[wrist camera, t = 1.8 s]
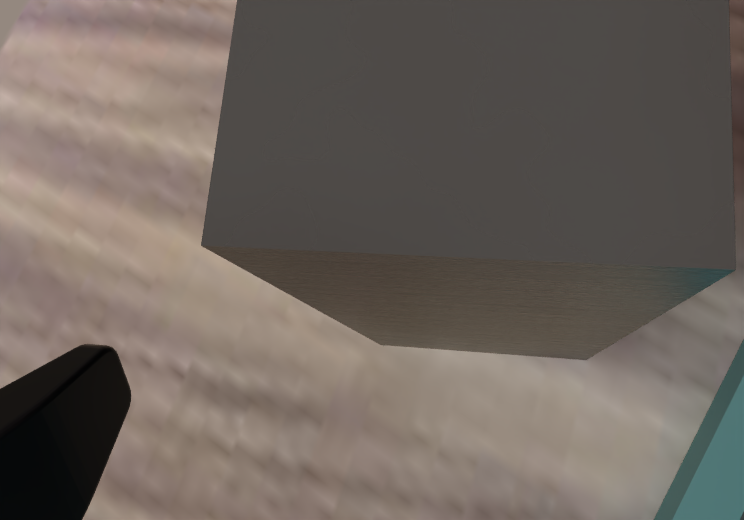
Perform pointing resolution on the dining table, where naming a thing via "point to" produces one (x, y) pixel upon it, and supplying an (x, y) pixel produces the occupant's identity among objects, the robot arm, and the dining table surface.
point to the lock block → (479, 165)
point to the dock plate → (713, 459)
